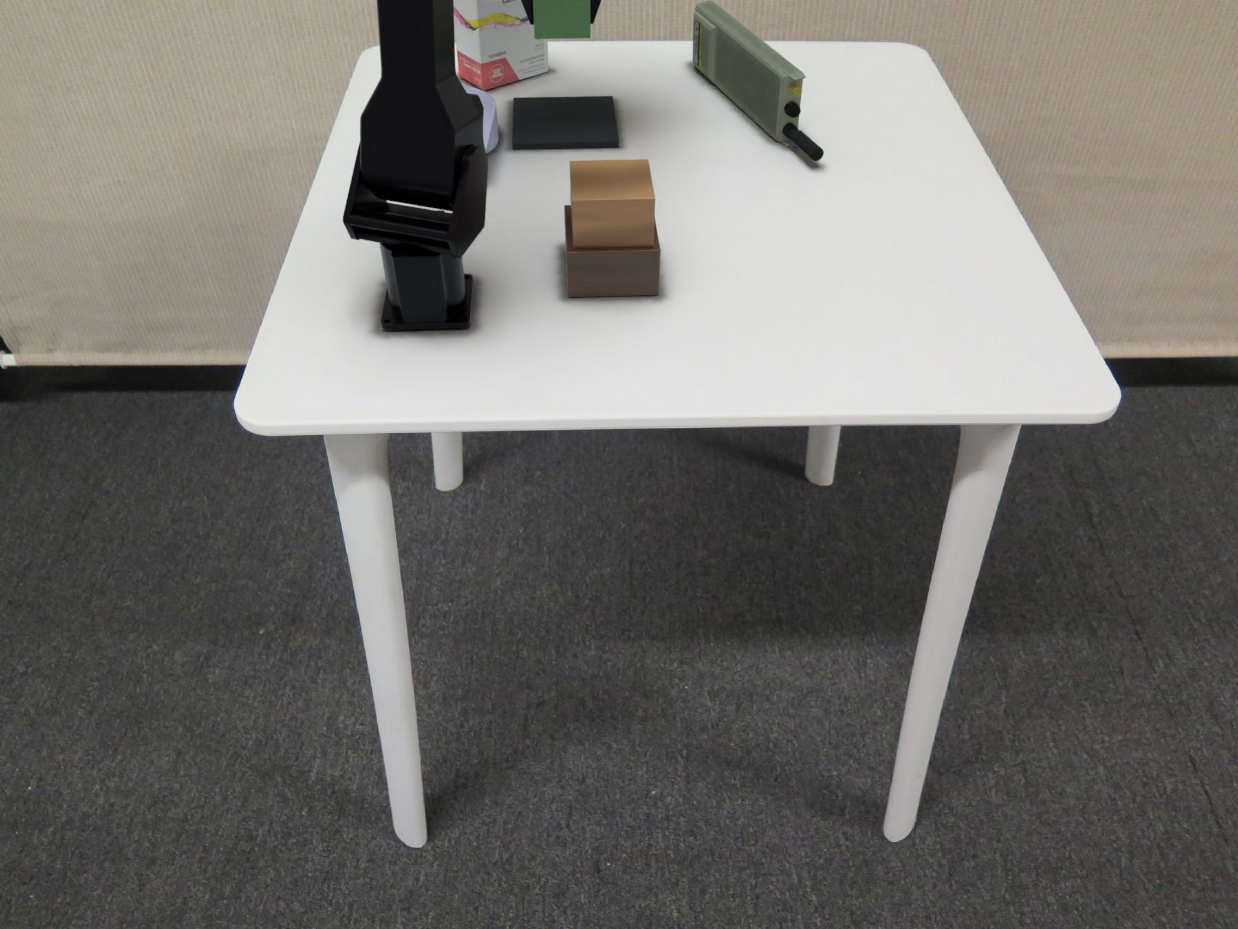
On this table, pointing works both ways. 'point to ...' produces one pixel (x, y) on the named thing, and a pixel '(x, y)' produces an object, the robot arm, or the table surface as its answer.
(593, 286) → the walnut block
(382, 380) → the table surface
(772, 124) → the handheld radio
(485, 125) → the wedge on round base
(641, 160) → the oak block
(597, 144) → the mat
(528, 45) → the ink cartridge box
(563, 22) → the green block
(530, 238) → the table surface
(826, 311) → the table surface
